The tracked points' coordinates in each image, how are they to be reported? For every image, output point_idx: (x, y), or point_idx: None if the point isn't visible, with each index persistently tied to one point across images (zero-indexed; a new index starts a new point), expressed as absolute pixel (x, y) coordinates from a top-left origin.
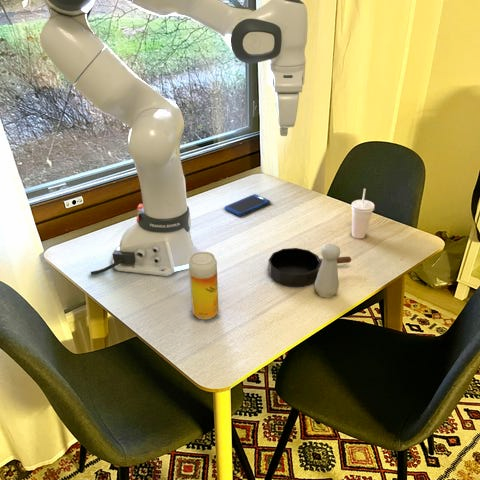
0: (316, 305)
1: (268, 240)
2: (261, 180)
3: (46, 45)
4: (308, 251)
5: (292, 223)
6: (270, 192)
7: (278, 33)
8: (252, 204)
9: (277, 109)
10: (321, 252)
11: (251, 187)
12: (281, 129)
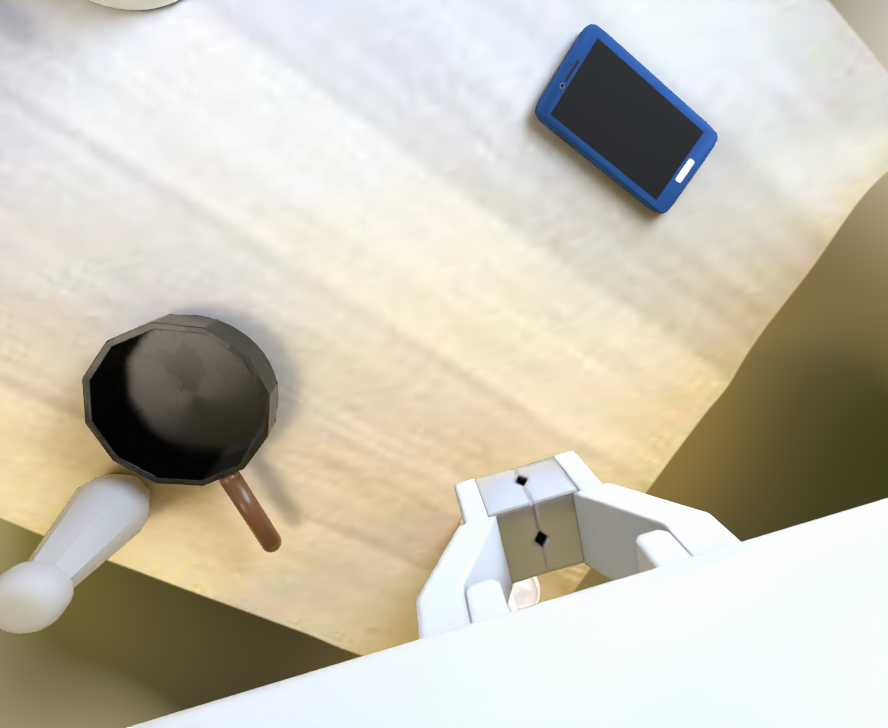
0: (51, 481)
1: (377, 269)
2: (858, 134)
3: None
4: (259, 437)
5: (516, 325)
6: (750, 196)
7: None
8: (625, 148)
9: (587, 704)
10: (9, 570)
11: (794, 104)
12: (465, 528)
